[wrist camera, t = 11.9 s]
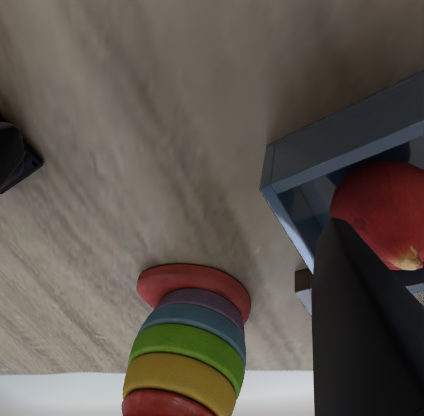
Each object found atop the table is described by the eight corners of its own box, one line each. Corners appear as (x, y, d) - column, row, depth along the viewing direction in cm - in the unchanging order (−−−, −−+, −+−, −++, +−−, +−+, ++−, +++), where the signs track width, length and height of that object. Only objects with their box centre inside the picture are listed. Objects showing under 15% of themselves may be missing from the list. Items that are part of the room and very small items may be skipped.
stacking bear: (131, 273, 33) (5, 506, 18) (218, 245, 28) (140, 526, 14) (189, 337, 37) (125, 564, 23) (272, 322, 33) (255, 594, 18)
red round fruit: (359, 229, 24) (383, 324, 17) (307, 176, 22) (311, 260, 16) (443, 183, 20) (510, 279, 14) (389, 118, 19) (436, 193, 13)
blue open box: (328, 252, 26) (334, 310, 22) (265, 145, 22) (258, 189, 18) (485, 207, 21) (534, 268, 17) (444, 59, 17) (494, 90, 13)
